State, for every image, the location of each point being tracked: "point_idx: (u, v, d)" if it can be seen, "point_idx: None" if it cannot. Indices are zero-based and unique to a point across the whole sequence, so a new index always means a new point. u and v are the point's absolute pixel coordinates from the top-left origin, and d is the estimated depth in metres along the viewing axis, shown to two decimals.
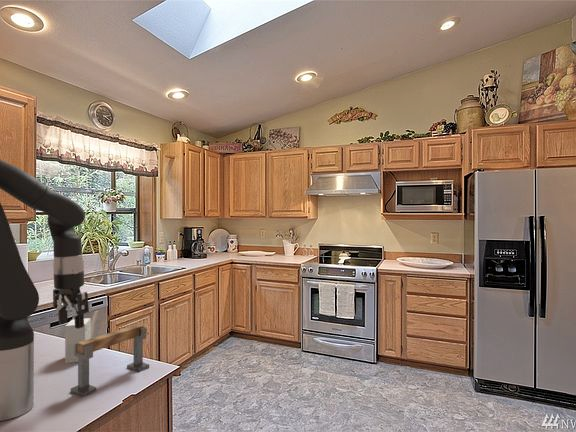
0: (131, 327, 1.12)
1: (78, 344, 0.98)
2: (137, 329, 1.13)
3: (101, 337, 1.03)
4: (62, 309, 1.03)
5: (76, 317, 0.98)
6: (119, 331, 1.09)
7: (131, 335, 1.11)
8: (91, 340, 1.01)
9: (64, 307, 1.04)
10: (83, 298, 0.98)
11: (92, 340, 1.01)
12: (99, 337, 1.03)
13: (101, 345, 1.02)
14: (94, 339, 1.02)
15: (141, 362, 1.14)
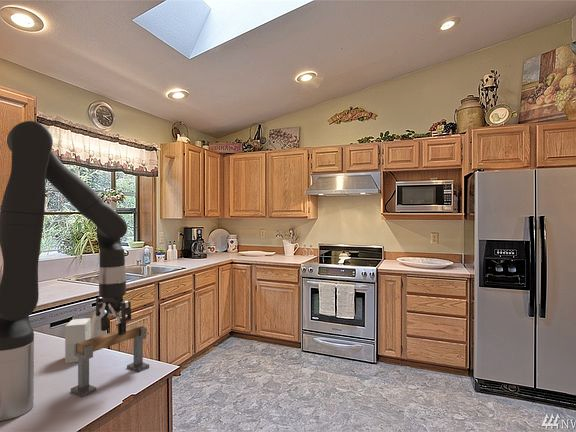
0: (131, 327, 1.12)
1: (78, 344, 0.98)
2: (137, 329, 1.13)
3: (101, 337, 1.03)
4: (104, 317, 1.09)
5: (119, 324, 1.04)
6: None
7: (131, 335, 1.11)
8: (91, 340, 1.01)
9: (106, 315, 1.09)
10: (127, 306, 1.03)
11: (92, 340, 1.01)
12: (99, 337, 1.03)
13: (101, 345, 1.02)
14: (94, 339, 1.02)
15: (141, 362, 1.14)
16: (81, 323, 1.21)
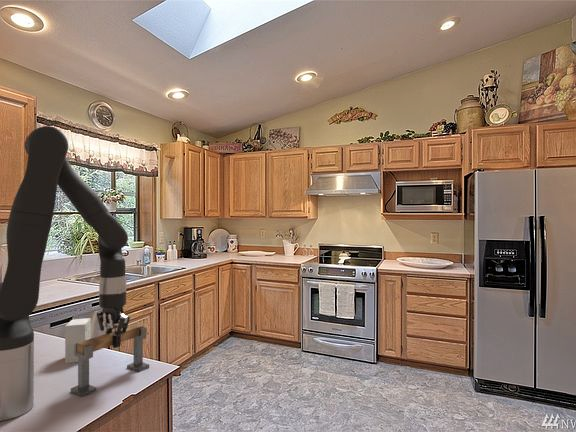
0: (131, 327, 1.12)
1: (78, 344, 0.98)
2: (137, 329, 1.13)
3: (101, 337, 1.03)
4: (109, 331, 1.07)
5: (114, 337, 1.05)
6: None
7: (131, 335, 1.11)
8: (91, 340, 1.01)
9: (110, 329, 1.08)
10: (125, 322, 1.04)
11: (92, 340, 1.01)
12: (99, 337, 1.03)
13: (101, 345, 1.02)
14: (94, 339, 1.02)
15: (141, 362, 1.14)
16: (81, 323, 1.21)
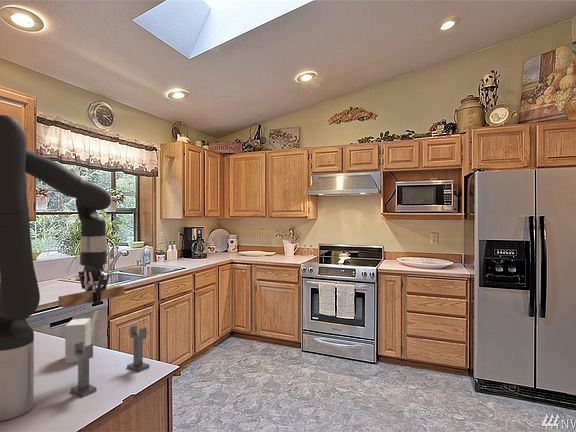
0: (112, 287, 1.17)
1: (59, 298, 1.03)
2: (118, 289, 1.18)
3: (82, 293, 1.08)
4: (90, 289, 1.12)
5: (94, 294, 1.10)
6: None
7: (112, 294, 1.16)
8: (72, 294, 1.06)
9: (91, 287, 1.13)
10: (104, 279, 1.09)
11: (73, 295, 1.06)
12: (80, 293, 1.08)
13: (82, 300, 1.07)
14: (75, 294, 1.07)
15: (141, 362, 1.14)
16: (81, 323, 1.21)
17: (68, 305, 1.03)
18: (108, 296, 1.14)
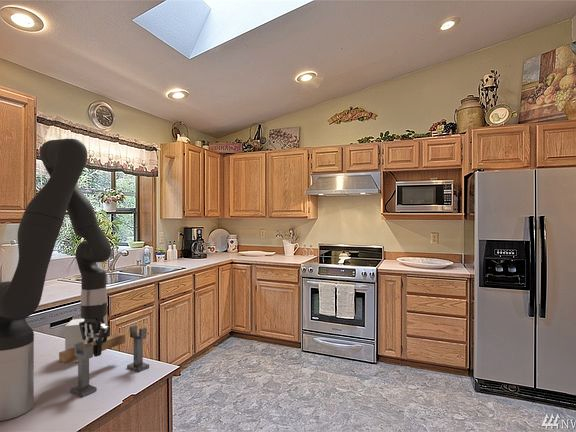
0: (112, 336, 1.17)
1: (60, 354, 1.03)
2: (119, 338, 1.18)
3: (83, 346, 1.08)
4: (90, 340, 1.12)
5: (95, 346, 1.10)
6: None
7: (113, 344, 1.16)
8: (73, 349, 1.06)
9: (92, 338, 1.13)
10: (105, 332, 1.09)
11: None
12: None
13: None
14: None
15: (141, 362, 1.14)
16: None
17: (69, 361, 1.03)
18: (109, 346, 1.14)
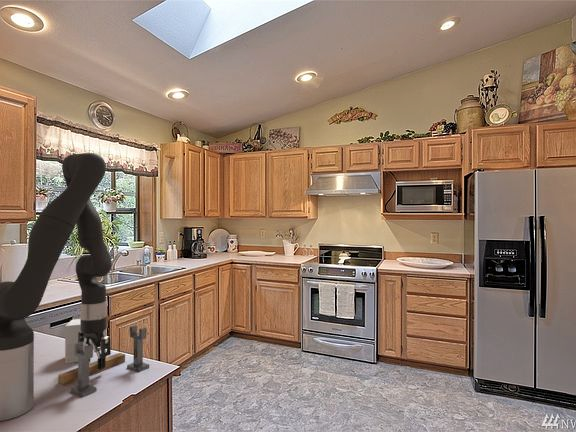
0: (112, 356, 1.17)
1: (59, 376, 1.03)
2: (118, 358, 1.17)
3: None
4: None
5: (99, 359, 1.08)
6: None
7: (112, 364, 1.15)
8: (72, 371, 1.06)
9: None
10: (106, 342, 1.08)
11: (73, 371, 1.05)
12: None
13: None
14: (75, 370, 1.07)
15: (141, 362, 1.14)
16: None
17: (68, 383, 1.03)
18: (108, 367, 1.14)
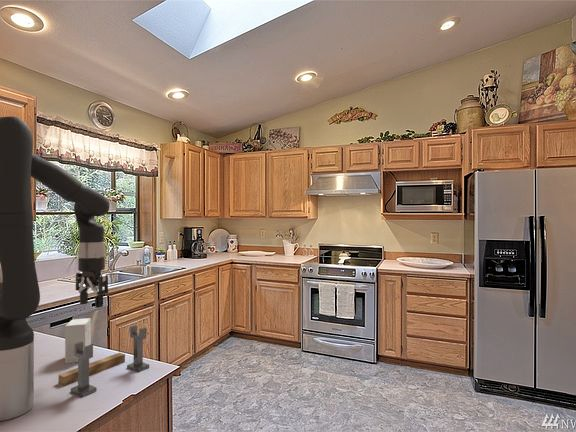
0: (112, 356, 1.17)
1: (59, 376, 1.03)
2: (118, 358, 1.17)
3: None
4: (83, 291, 1.14)
5: (96, 297, 1.09)
6: (100, 361, 1.14)
7: (112, 364, 1.16)
8: (72, 371, 1.06)
9: (85, 289, 1.15)
10: (104, 280, 1.09)
11: (73, 371, 1.05)
12: None
13: None
14: (75, 370, 1.07)
15: (141, 362, 1.14)
16: (81, 323, 1.21)
17: (68, 383, 1.03)
18: (108, 367, 1.14)
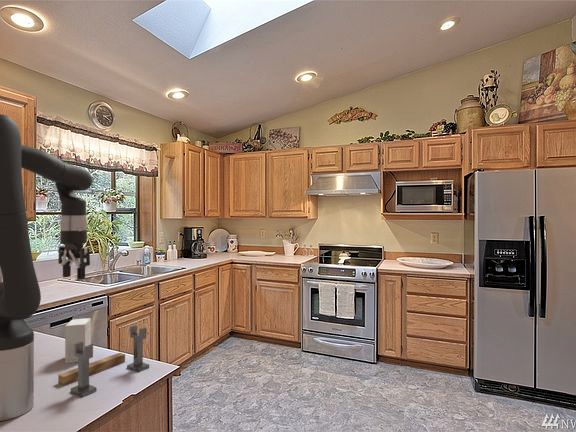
0: (112, 356, 1.17)
1: (59, 376, 1.03)
2: (118, 358, 1.17)
3: None
4: (66, 264, 1.16)
5: (78, 269, 1.11)
6: (101, 361, 1.14)
7: (112, 364, 1.15)
8: (72, 371, 1.06)
9: (68, 262, 1.16)
10: (85, 252, 1.11)
11: (73, 371, 1.06)
12: None
13: None
14: (75, 370, 1.07)
15: (141, 362, 1.14)
16: (81, 323, 1.21)
17: (68, 383, 1.03)
18: (108, 367, 1.14)
